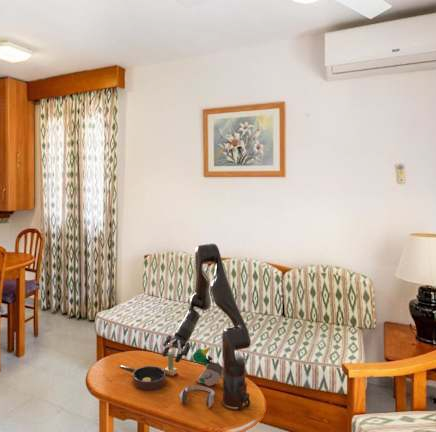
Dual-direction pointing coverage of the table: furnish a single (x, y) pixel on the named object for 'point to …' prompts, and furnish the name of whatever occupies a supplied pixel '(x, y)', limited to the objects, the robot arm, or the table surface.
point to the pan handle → (127, 368)
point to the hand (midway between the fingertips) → (169, 359)
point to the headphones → (209, 397)
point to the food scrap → (146, 379)
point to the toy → (208, 368)
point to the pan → (151, 372)
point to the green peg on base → (170, 366)
